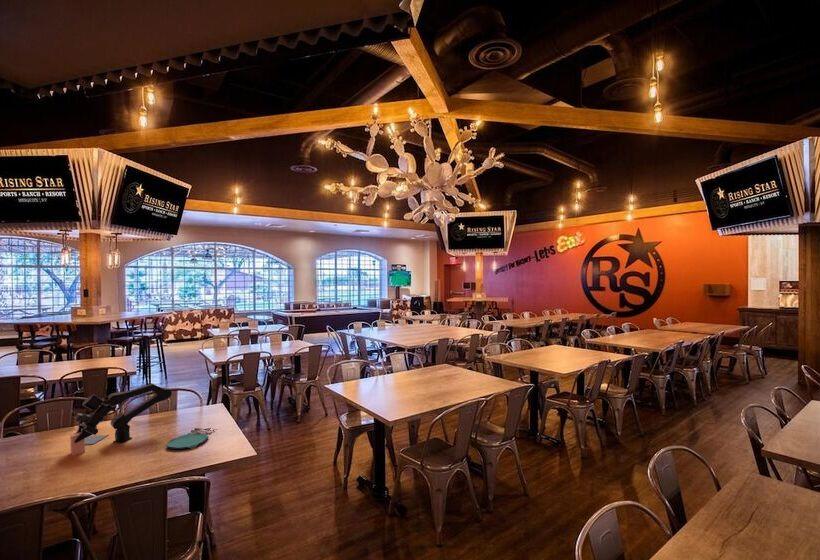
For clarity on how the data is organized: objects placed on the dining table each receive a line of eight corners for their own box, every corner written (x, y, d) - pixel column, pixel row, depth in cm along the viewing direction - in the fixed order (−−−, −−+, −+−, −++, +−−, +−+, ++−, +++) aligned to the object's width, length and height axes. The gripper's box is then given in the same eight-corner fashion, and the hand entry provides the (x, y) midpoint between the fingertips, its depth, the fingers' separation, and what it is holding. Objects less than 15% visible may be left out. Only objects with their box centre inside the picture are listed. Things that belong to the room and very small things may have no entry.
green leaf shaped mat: (158, 451, 208) (158, 447, 208) (192, 430, 238) (192, 426, 238) (194, 452, 207) (194, 447, 207) (224, 430, 237) (224, 426, 237)
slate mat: (108, 435, 231) (108, 435, 231) (93, 444, 219) (93, 443, 219) (86, 436, 230) (86, 436, 230) (70, 445, 218) (70, 444, 218)
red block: (82, 449, 212) (82, 431, 212) (84, 452, 209) (84, 433, 209) (70, 453, 209) (70, 434, 209) (72, 455, 205) (72, 436, 205)
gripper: (82, 403, 218) (56, 429, 210) (89, 410, 205) (62, 438, 197) (100, 413, 224) (76, 439, 216) (108, 421, 212) (83, 448, 203)
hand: (74, 441), depth 208 cm, fingers closed on red block, 5 cm apart
